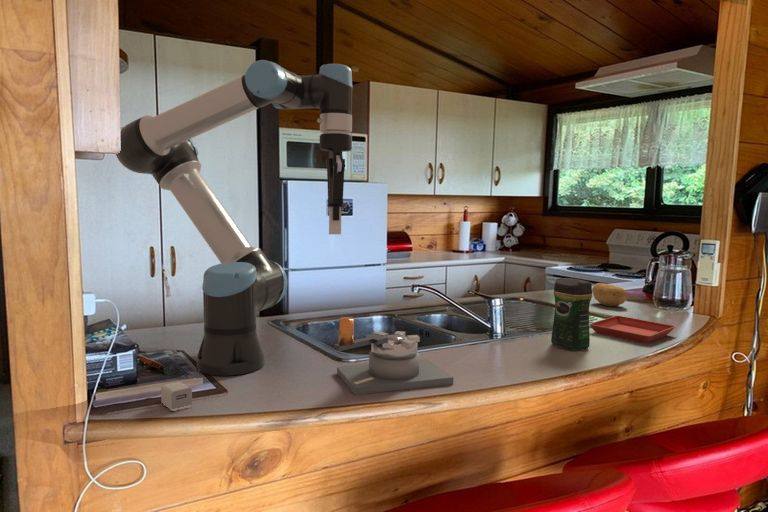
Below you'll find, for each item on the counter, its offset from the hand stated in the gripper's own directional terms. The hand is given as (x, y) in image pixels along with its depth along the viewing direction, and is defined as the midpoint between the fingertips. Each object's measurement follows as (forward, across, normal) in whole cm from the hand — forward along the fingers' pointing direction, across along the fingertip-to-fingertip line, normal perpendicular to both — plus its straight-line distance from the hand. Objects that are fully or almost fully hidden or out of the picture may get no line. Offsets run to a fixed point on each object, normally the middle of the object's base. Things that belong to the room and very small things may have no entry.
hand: (334, 234), depth 134 cm
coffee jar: (+31, +1, +64) cm, 71 cm away
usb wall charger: (+31, +24, -34) cm, 52 cm away
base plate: (+30, +18, +11) cm, 37 cm away
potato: (+31, -47, +110) cm, 124 cm away
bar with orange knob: (+25, +20, +6) cm, 32 cm away
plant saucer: (+31, -8, +90) cm, 96 cm away
